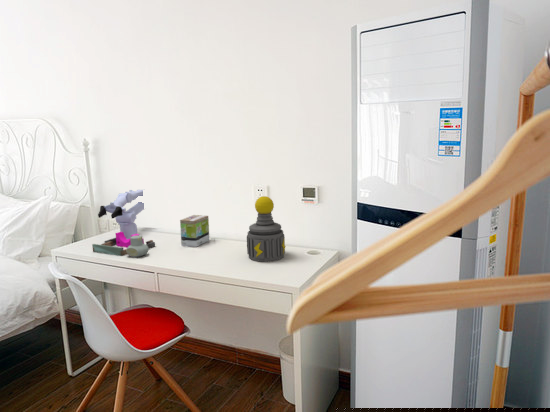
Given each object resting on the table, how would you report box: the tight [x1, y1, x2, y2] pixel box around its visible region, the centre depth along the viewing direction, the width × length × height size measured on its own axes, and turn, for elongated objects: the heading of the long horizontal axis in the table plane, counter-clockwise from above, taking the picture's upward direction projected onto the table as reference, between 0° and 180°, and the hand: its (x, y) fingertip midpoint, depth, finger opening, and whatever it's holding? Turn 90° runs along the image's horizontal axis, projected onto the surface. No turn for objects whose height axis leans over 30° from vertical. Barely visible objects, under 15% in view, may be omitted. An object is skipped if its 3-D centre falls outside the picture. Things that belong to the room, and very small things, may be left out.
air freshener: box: [125, 234, 150, 258], centre depth 219 cm, size 11×8×10 cm
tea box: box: [179, 214, 210, 248], centre depth 238 cm, size 15×10×15 cm, turn 161°
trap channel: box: [91, 237, 156, 257], centre depth 234 cm, size 23×29×4 cm
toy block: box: [115, 231, 145, 249], centre depth 238 cm, size 15×6×8 cm, turn 59°
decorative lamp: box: [246, 195, 286, 263], centre depth 208 cm, size 19×19×30 cm
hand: (105, 216), depth 232 cm, fingers open, 7 cm apart
